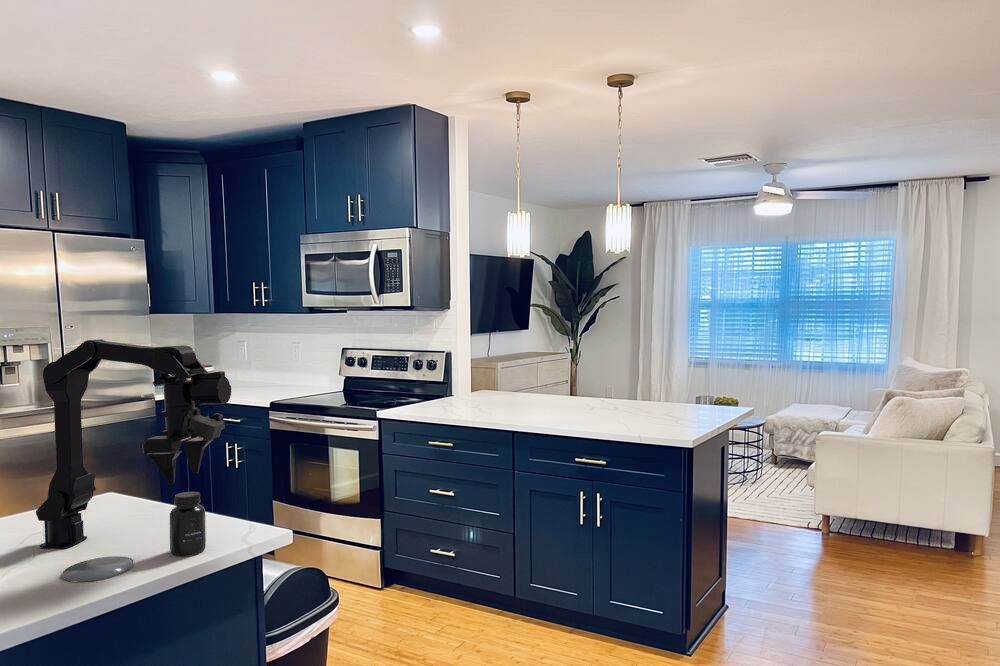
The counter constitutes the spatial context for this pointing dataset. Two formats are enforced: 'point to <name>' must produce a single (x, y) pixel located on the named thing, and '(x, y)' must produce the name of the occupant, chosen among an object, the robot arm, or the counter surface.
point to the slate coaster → (98, 568)
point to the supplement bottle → (187, 525)
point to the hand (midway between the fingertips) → (183, 478)
